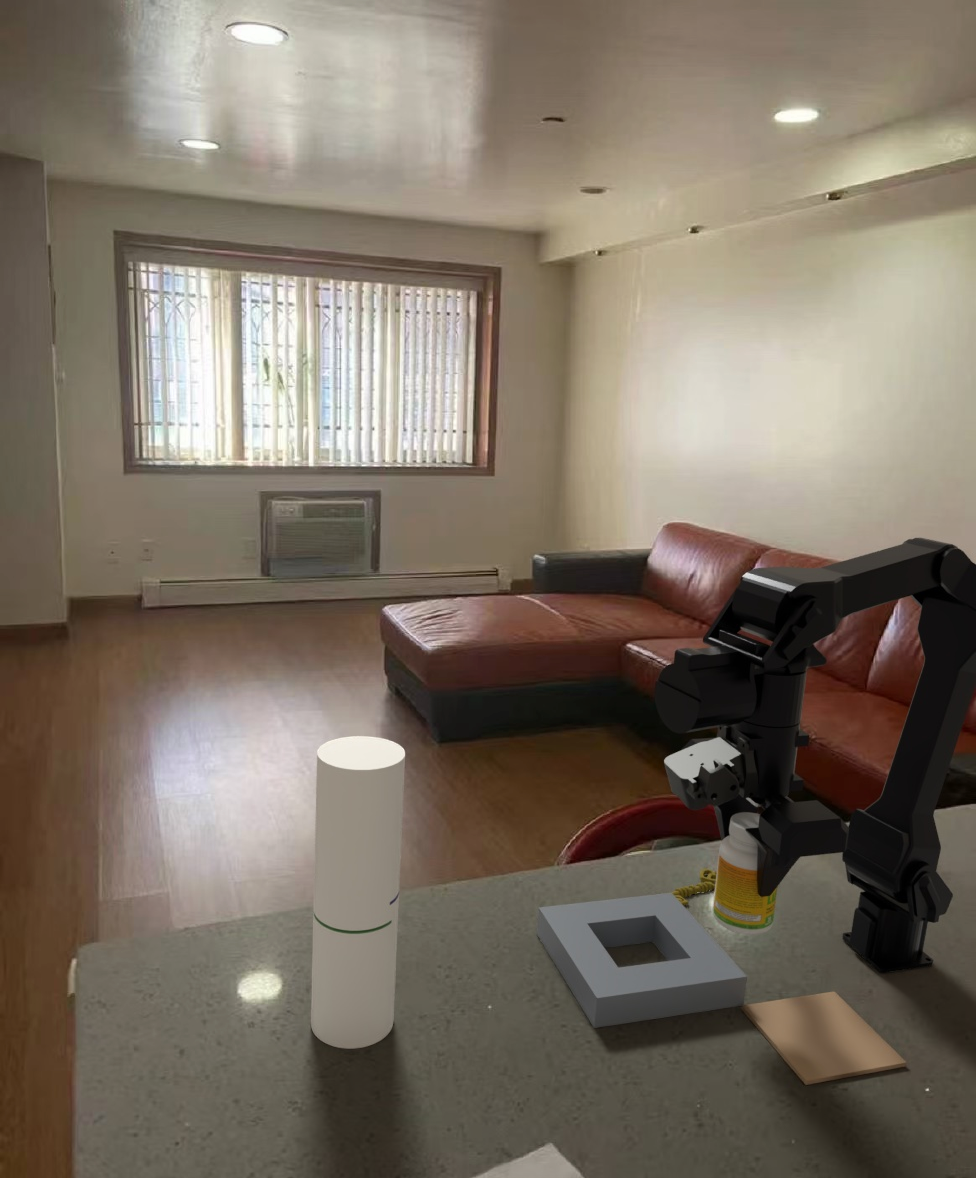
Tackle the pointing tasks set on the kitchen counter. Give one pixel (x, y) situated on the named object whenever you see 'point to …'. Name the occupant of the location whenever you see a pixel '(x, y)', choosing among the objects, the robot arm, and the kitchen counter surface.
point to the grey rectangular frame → (640, 991)
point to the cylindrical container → (356, 889)
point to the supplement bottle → (741, 881)
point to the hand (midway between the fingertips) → (747, 878)
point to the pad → (822, 1037)
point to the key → (697, 886)
